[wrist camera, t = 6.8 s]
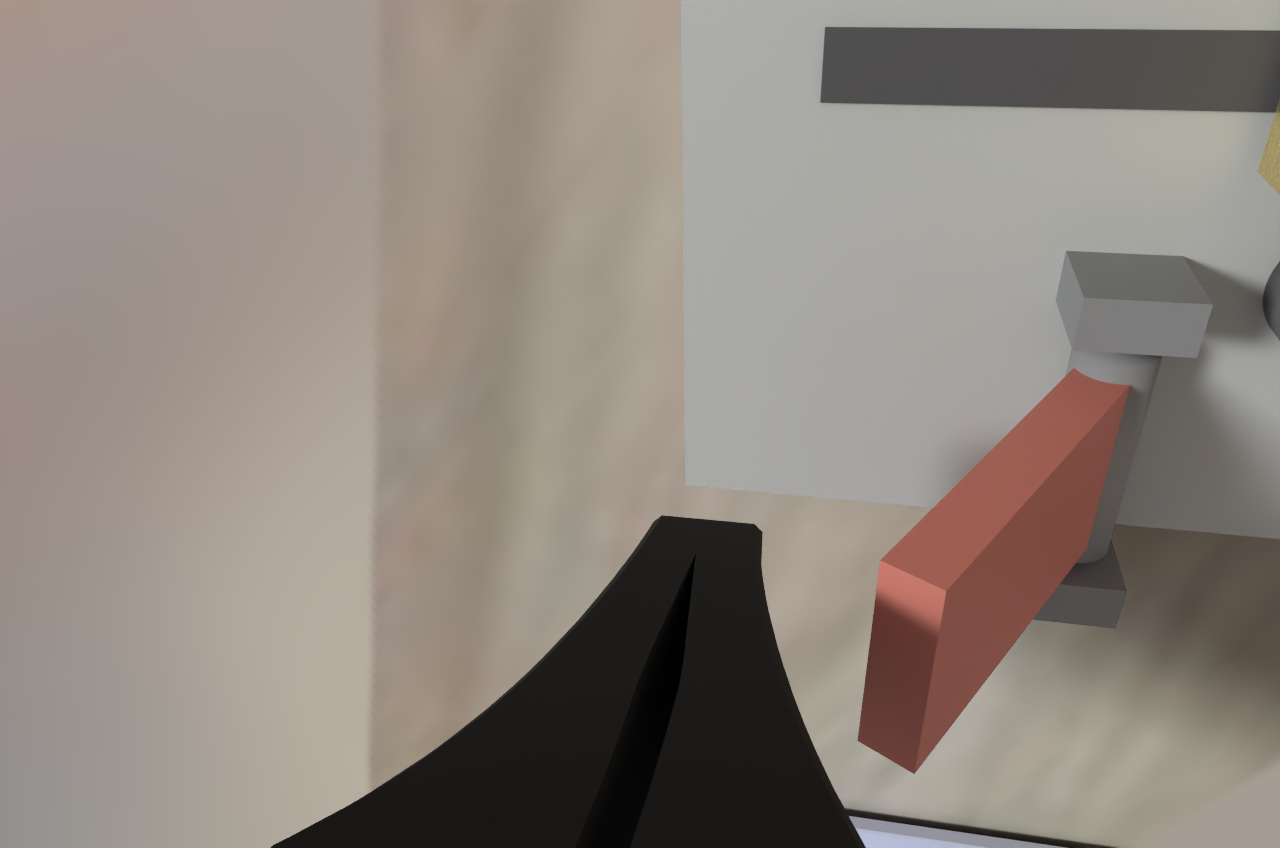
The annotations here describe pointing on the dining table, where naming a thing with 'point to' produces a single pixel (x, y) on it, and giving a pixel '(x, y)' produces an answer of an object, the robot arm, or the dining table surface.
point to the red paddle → (999, 551)
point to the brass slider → (1272, 155)
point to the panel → (981, 247)
